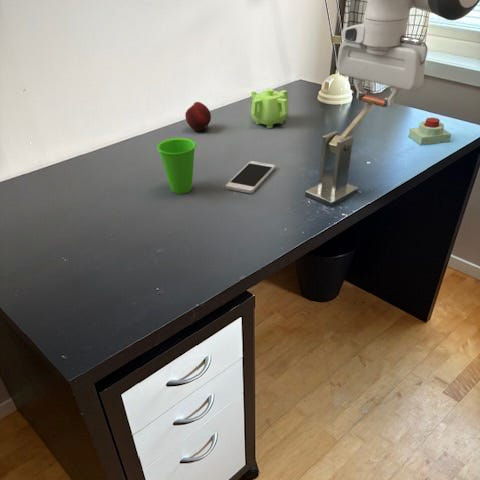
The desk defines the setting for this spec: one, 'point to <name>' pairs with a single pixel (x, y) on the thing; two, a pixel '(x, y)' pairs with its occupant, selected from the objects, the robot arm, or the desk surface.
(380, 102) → the lever
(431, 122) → the button
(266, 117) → the green pot with handles
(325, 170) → the bracket
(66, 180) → the desk surface
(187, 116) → the apple
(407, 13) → the robot arm
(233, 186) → the smartphone
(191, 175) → the cup
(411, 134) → the control block
